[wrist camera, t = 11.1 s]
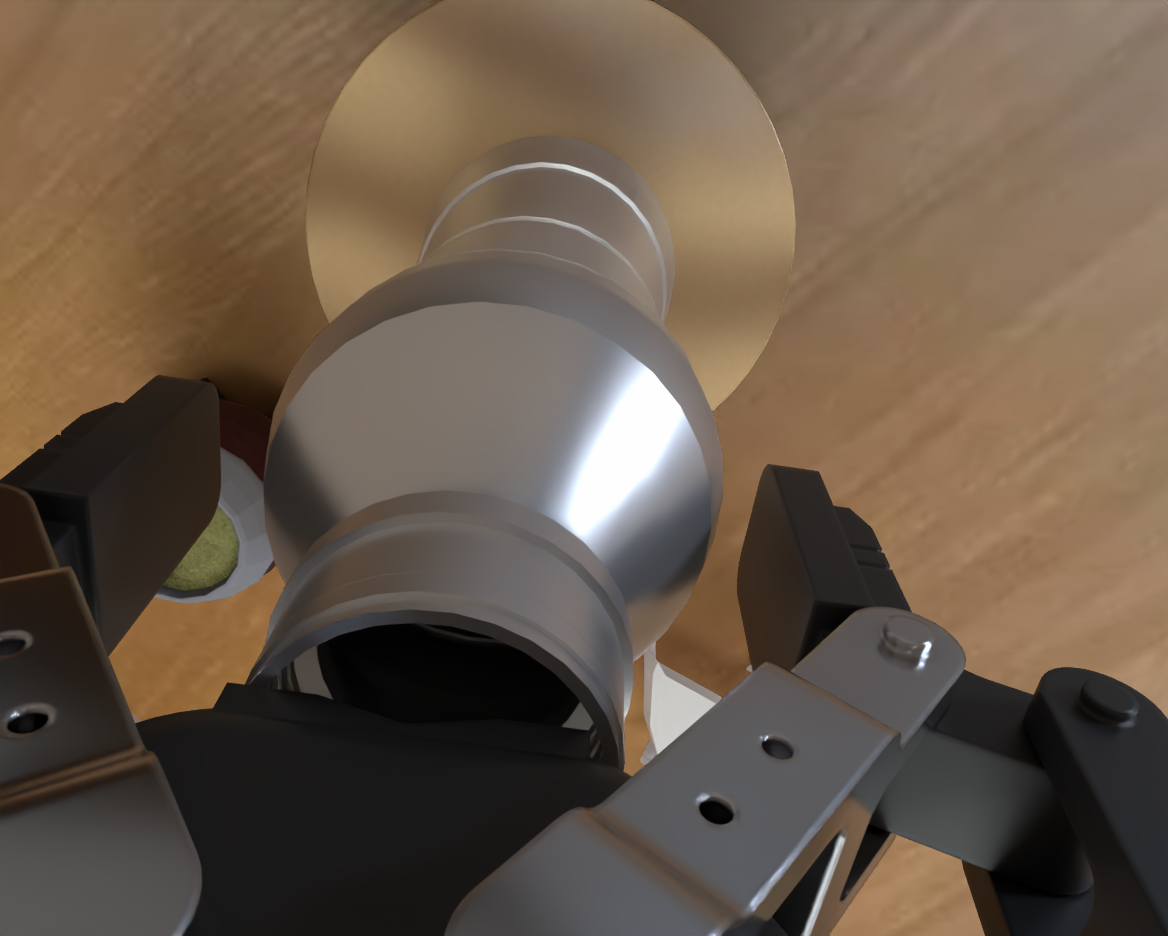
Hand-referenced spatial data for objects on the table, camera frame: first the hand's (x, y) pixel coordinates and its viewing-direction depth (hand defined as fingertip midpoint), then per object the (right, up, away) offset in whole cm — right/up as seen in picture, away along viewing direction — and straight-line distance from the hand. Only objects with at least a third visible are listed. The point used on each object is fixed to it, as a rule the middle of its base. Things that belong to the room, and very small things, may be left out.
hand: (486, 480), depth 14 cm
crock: (+1, +10, +21) cm, 23 cm away
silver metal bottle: (+1, +6, +13) cm, 14 cm away
